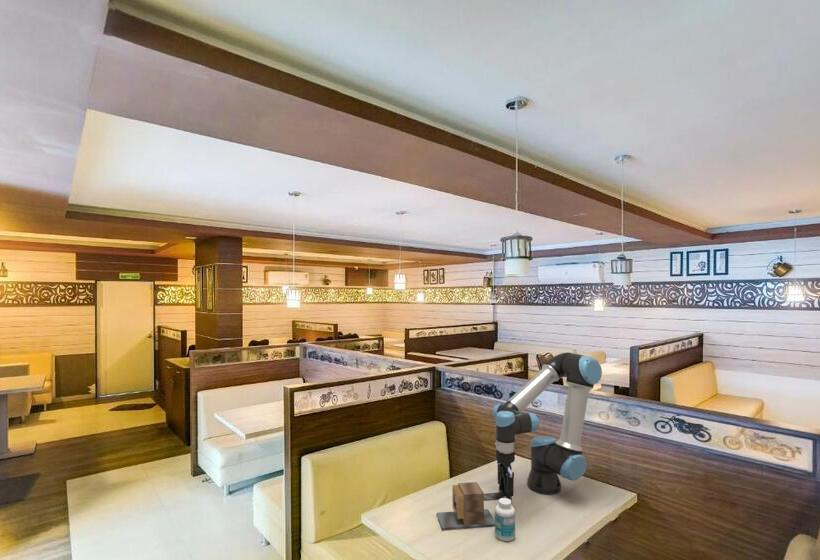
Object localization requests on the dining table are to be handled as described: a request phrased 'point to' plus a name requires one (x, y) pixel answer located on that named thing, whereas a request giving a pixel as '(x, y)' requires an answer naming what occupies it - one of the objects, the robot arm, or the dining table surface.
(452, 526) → the bearing block
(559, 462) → the robot arm
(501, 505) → the pill bottle
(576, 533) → the dining table surface
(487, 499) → the shaft
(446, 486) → the dining table surface
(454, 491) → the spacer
